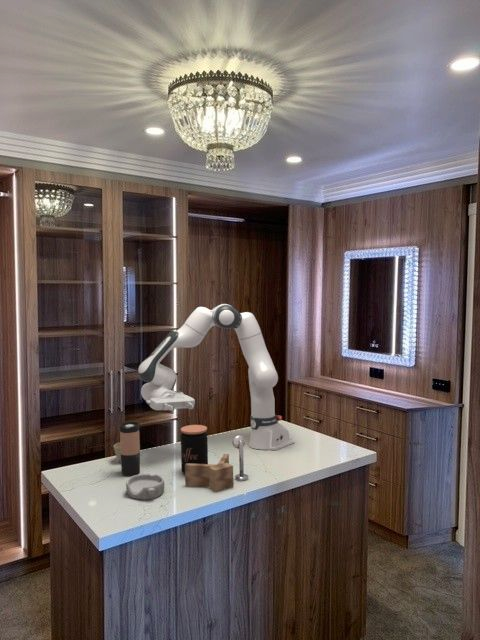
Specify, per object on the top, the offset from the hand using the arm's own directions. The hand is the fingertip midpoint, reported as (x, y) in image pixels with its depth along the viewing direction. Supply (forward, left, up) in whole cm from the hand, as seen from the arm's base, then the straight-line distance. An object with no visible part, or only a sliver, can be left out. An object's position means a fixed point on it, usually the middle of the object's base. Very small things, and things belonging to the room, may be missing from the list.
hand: (182, 408), depth 202 cm
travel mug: (+22, -4, -24) cm, 33 cm away
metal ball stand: (-10, +28, -24) cm, 38 cm away
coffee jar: (+1, +11, -24) cm, 26 cm away
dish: (+25, +17, -25) cm, 38 cm away
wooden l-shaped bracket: (+1, +26, -24) cm, 35 cm away
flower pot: (+18, -19, -24) cm, 36 cm away
